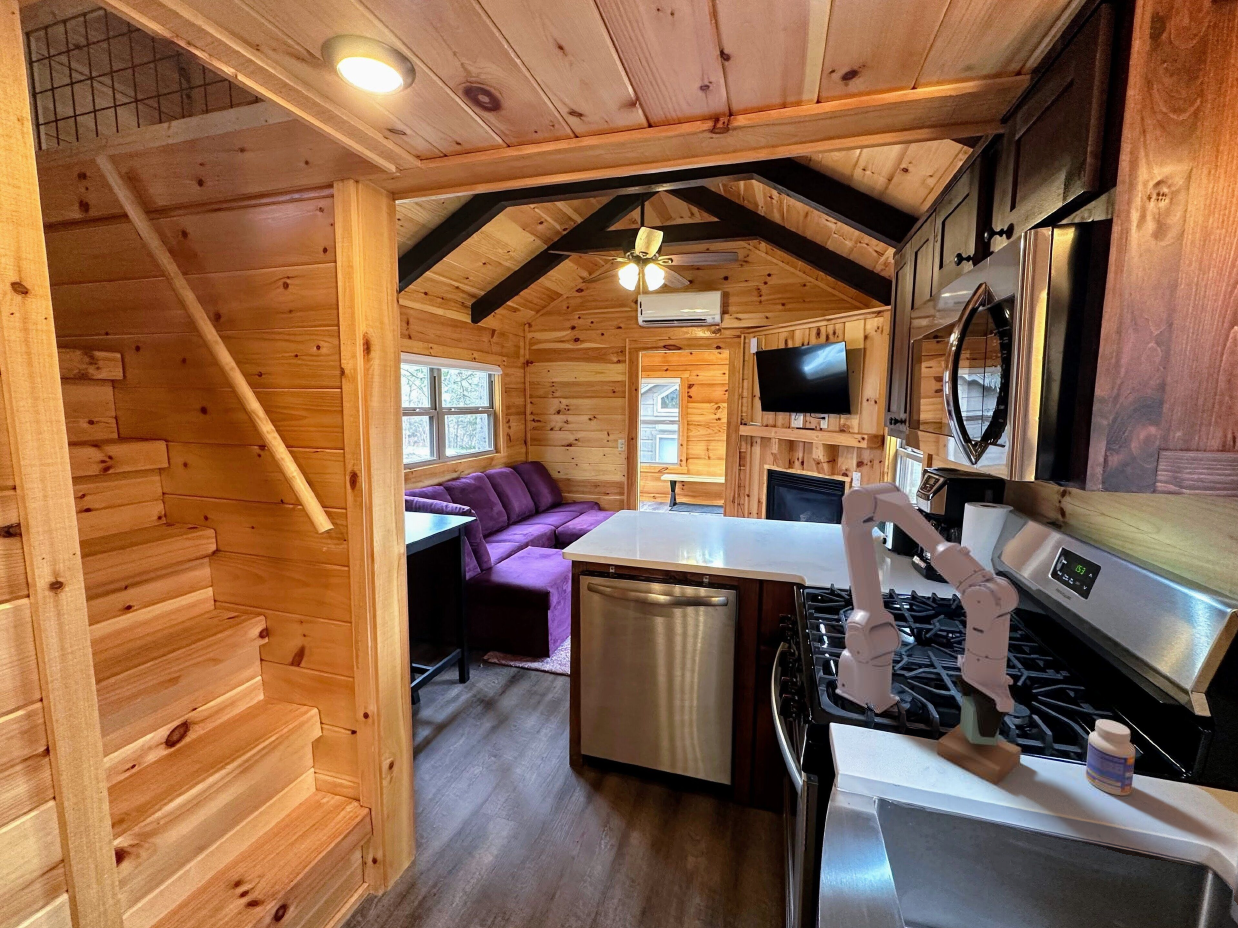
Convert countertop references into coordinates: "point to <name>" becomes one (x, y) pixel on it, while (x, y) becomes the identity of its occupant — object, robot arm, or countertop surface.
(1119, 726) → the pill bottle
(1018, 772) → the countertop surface
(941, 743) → the walnut block
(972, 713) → the gray-green block
